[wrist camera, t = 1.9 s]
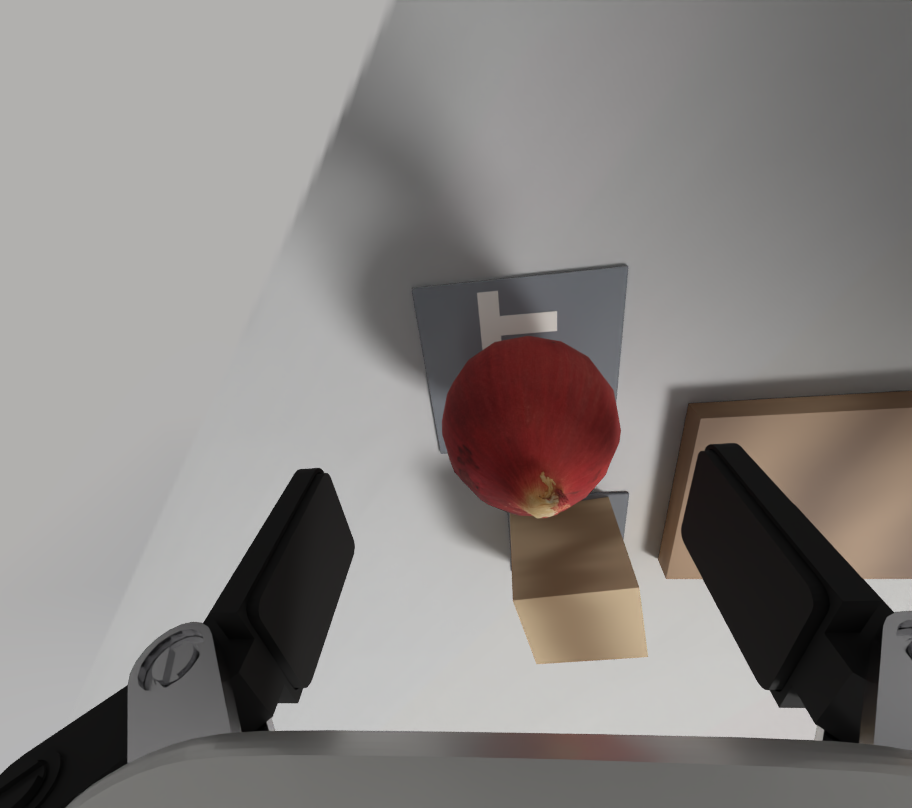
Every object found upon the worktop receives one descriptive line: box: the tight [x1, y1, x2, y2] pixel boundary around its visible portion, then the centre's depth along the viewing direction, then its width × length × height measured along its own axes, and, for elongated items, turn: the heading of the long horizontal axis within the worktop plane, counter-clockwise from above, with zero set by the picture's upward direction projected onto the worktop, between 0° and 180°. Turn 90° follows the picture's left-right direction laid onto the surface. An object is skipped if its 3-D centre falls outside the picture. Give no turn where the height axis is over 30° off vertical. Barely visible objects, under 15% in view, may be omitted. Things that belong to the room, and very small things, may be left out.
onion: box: [442, 336, 621, 518], centre depth 13 cm, size 6×6×8 cm
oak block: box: [510, 497, 648, 664], centre depth 19 cm, size 5×5×5 cm
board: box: [658, 391, 912, 579], centre depth 18 cm, size 12×10×1 cm
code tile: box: [412, 266, 628, 454], centre depth 17 cm, size 8×8×1 cm
